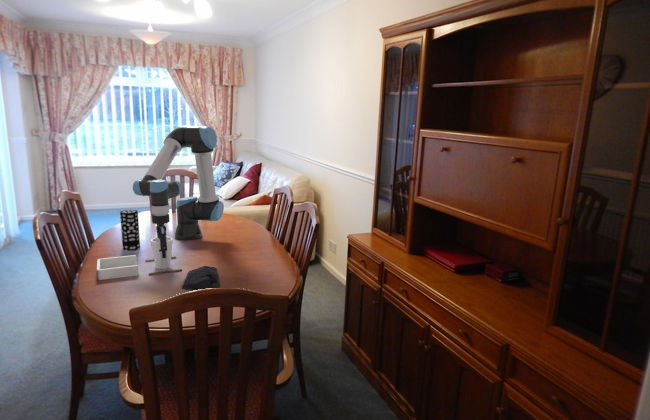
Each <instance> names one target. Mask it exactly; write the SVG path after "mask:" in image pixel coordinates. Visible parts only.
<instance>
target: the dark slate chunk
mask: <svg viewBox="0 0 650 420" xmlns="http://www.w3.org/2000/svg"><path fill="white" fill-rule="evenodd" d="M220 285H221V283H220V278H219V274H218V268H217V267H216V266H208V265H203V266H199V267H197V268H193V269H191V270H189V271H188V272H187V275H186V277H185V278H184V280H183V283H182V286H181V289H182V290H184V291H191V290H192V291H193V290H195V291H197V290H198V289H205V288H212V289H215V288H219V287H220ZM205 290H206V289H205ZM198 291H199V290H198Z"/></svg>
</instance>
